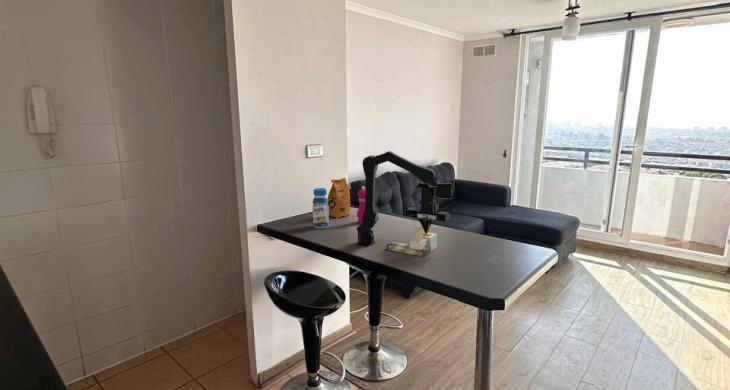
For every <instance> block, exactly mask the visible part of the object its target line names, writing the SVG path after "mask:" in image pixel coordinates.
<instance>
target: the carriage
mask: <svg viewBox="0 0 730 390" xmlns="http://www.w3.org/2000/svg"><path fill="white" fill-rule="evenodd" d="M423 232H424V230H423V227H415V228H414V229H413V239H411V240H410V241H409V245H410V248H413V249H419V250H421V249H423V248H424V247H425V246H426V245H427V239H423Z"/></svg>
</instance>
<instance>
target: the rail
mask: <svg viewBox="0 0 730 390" xmlns="http://www.w3.org/2000/svg"><path fill="white" fill-rule="evenodd" d="M386 250H387V251H394V252H398V253H404V254H409V255H415V256H419V257H425V258H426V256H428V255H430V254H431V253H432V251H431V247H429V246H428V247H427V248H425V247H424V248H423V249H421V250H419V249H413V248H410V244H408V243H402V242H397V241H396V240H395V239H393V240H390V241H389V242H387V243H386Z"/></svg>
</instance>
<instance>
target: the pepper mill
mask: <svg viewBox="0 0 730 390" xmlns="http://www.w3.org/2000/svg"><path fill="white" fill-rule="evenodd" d="M357 196H358V201H359V205H358V209H357V212H356V217H357V223H358V224H360V223H362V218H363V214H364V210H365V186H364V185H363V186H361V189H359V190H358V191H357Z"/></svg>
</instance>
